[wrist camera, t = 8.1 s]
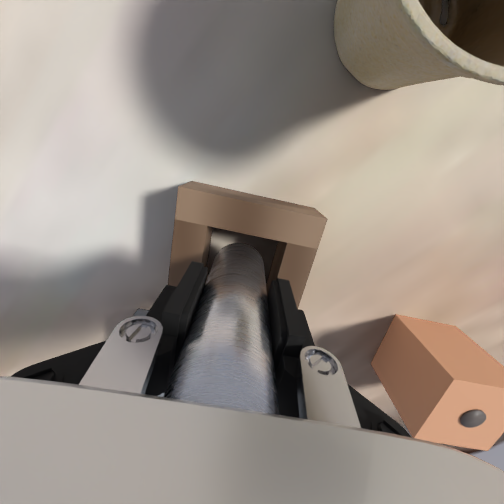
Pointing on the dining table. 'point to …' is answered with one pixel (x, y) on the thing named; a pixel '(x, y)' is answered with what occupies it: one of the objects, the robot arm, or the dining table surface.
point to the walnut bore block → (245, 230)
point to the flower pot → (420, 41)
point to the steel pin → (229, 338)
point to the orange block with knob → (442, 383)
